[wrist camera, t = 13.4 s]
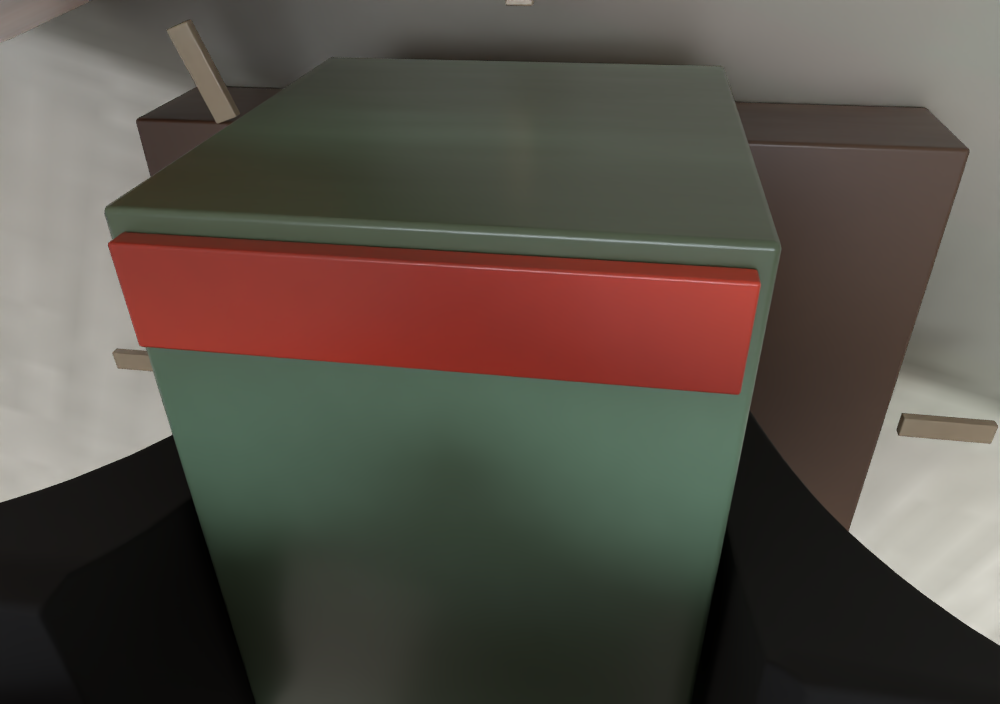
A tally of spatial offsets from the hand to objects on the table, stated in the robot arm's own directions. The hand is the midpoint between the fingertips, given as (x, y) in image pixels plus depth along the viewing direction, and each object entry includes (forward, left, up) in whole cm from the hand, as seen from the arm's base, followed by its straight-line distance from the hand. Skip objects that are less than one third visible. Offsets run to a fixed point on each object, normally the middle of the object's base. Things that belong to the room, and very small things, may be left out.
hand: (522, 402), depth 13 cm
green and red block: (0, 0, 0) cm, 0 cm away
